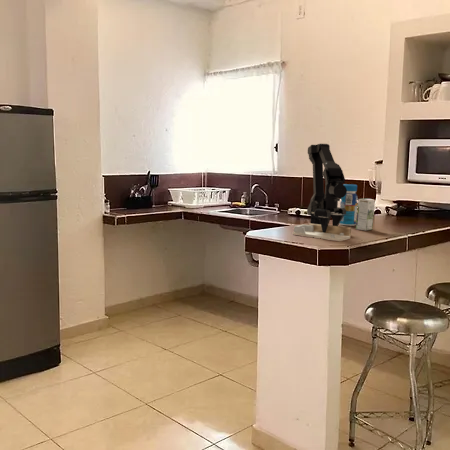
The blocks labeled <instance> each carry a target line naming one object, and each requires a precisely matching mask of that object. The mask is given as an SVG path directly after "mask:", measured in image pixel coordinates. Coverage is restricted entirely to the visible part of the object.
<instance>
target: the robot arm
mask: <svg viewBox="0 0 450 450" xmlns="http://www.w3.org/2000/svg"><path fill="white" fill-rule="evenodd" d="M330 147H331V146H330V144H329V143H317V144H311V145H310V146H308V147H307V155H308V159H309V162H311V164H312V181H313V188H312V189H313V194H312V196H311V198H310V202H309V204H308V207H307V209H306V214H307V215H308V216H310V222H309V224H321V227H322V231H323V233H325V232H326V230H327V227H328V225H330V220H331V219H332V221H331V222H332V226H340V224H339V223H340V222H341V220H342V218H343V217H344V214H346V209H345V208H340V207H339V203H338V202H341V198H342V197H344V196H345V195H346V193H347V189H346V187H345V186H344V184H346V183H345V181H346V177H345V174H344V172H343V169H342V167H341V166H340V164H338V163H337V162H336V161H335V160H334V157H333V154H332V152H331V148H330ZM324 181H325V182H324ZM324 184H325V185H324ZM324 186H325V187H324ZM324 188H325V189H324Z"/></svg>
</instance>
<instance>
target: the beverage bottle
mask: <svg viewBox="0 0 450 450" xmlns="http://www.w3.org/2000/svg"><path fill="white" fill-rule="evenodd" d="M343 185H344V186H345V187H346V189H347V193H346V195H345V196H344V197H342V198H340V201H339V202H340V203H339V204H340V208H345V209H346V214H344V217H343V218H342V220H341V222H340V223H339V226H344V227H353V226H355V227H356V219H357V208H358V199H359V198H358V194H357V191H358V185H357V184H353V183H351V184H350V183H349V184H347V183H343Z"/></svg>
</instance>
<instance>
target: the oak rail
mask: <svg viewBox="0 0 450 450" xmlns="http://www.w3.org/2000/svg"><path fill="white" fill-rule="evenodd" d="M307 225H311V226H314V231H316V232H323V231H322V227H321V224H310V223H308V224H307ZM325 233H330V234H337V235H340V233H344V236H350V237H351V236H352V235H351V234H352V226H343V225H338V226H333V224H332V225H330V224H328V227H327V230H326V232H325Z"/></svg>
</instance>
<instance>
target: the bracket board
mask: <svg viewBox="0 0 450 450" xmlns="http://www.w3.org/2000/svg"><path fill="white" fill-rule="evenodd" d="M292 235H293V236H294V235H295V236H302V237H308V238H313V237H314V238H315V239H320V238H321V240H329V241H336V242H342V241H345V240H350V239H351V236H344V233H340V235H337V234H330V233H323V232H316V231H314V226H311V225H308V224H300V225H299V224H298V225H294V227H293V231H292Z"/></svg>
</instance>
